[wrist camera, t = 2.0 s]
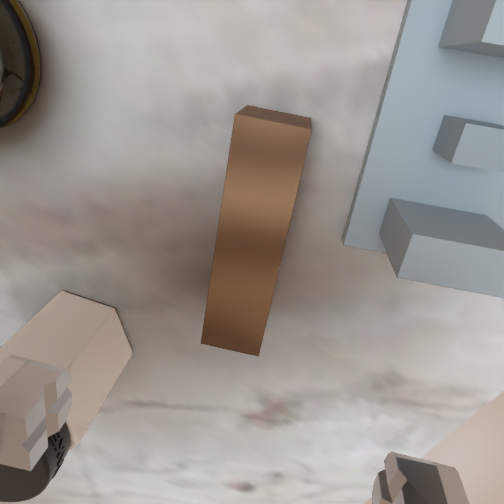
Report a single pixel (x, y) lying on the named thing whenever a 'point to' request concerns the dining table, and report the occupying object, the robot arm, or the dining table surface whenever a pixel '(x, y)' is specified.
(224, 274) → the walnut bar
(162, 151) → the dining table surface
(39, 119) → the dining table surface
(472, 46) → the cradle stand
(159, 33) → the dining table surface
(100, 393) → the jar
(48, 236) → the dining table surface
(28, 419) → the robot arm
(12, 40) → the apothecary jar
